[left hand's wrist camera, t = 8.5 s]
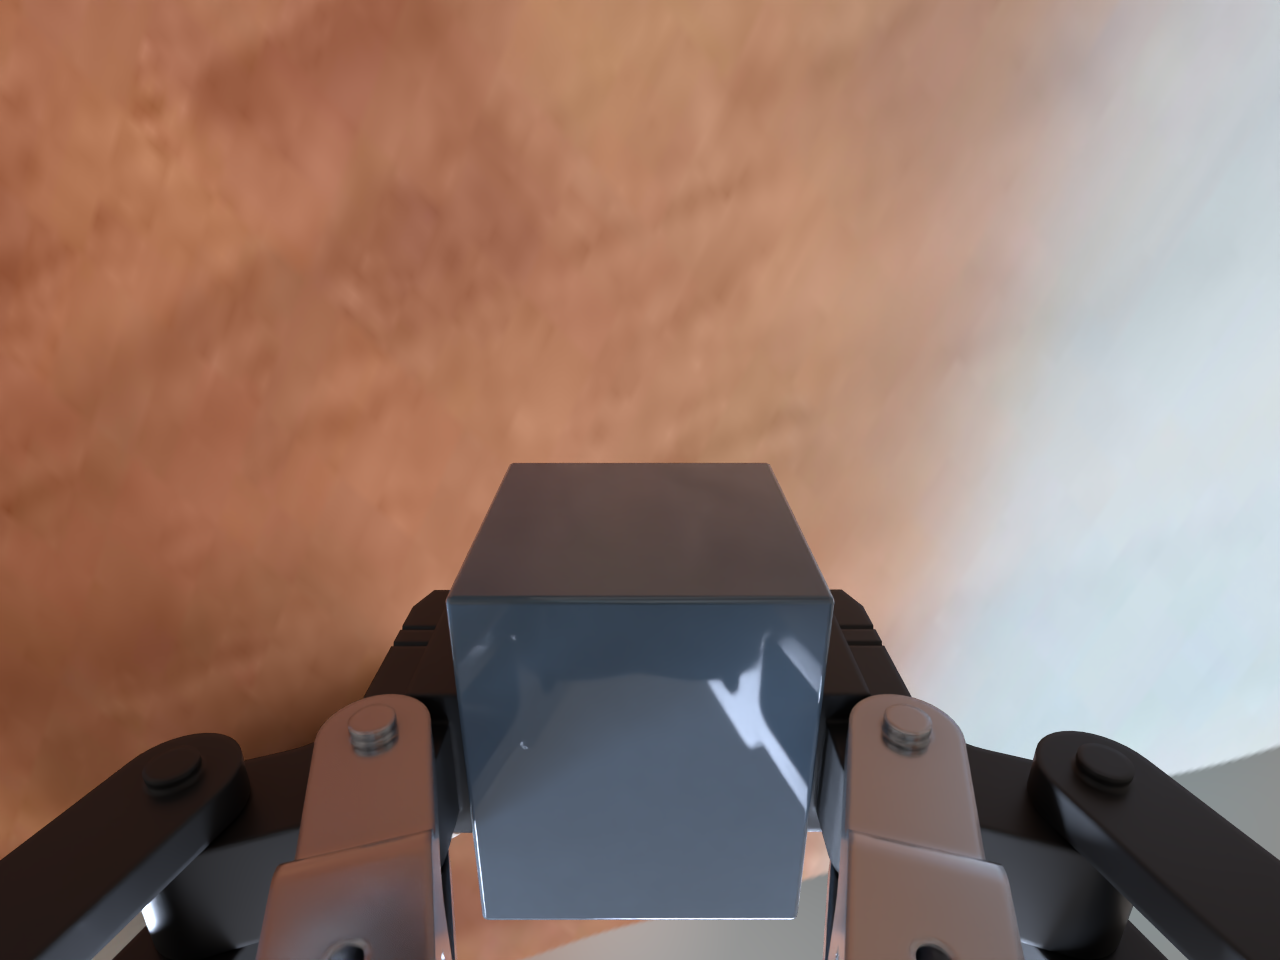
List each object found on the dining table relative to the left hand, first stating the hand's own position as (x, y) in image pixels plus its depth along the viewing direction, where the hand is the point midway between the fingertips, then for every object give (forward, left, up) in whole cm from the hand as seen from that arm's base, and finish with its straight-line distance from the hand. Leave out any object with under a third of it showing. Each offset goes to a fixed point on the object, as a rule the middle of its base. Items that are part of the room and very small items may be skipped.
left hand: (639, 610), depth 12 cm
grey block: (0, 0, 0) cm, 0 cm away
